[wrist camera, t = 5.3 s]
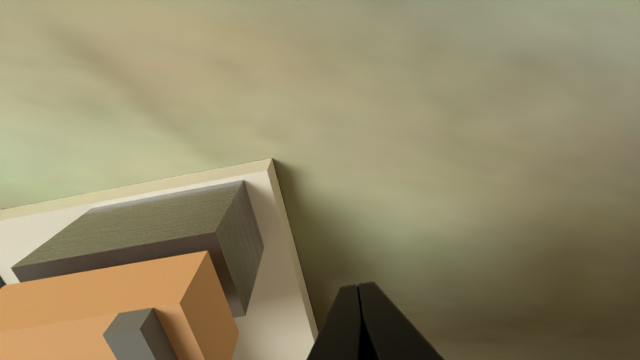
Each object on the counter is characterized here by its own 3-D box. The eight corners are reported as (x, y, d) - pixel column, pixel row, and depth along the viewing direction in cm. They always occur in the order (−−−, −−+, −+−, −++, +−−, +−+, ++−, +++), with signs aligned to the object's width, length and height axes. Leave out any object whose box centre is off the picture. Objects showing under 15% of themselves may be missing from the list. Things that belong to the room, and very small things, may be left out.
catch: (56, 360, 11) (-20, 452, 8) (5, 285, 10) (-100, 366, 7) (239, 333, 10) (214, 422, 8) (207, 250, 9) (167, 325, 7)
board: (63, 460, 23) (46, 487, 22) (-116, 232, 16) (-156, 249, 15) (342, 425, 22) (344, 451, 20) (271, 158, 15) (266, 170, 14)
